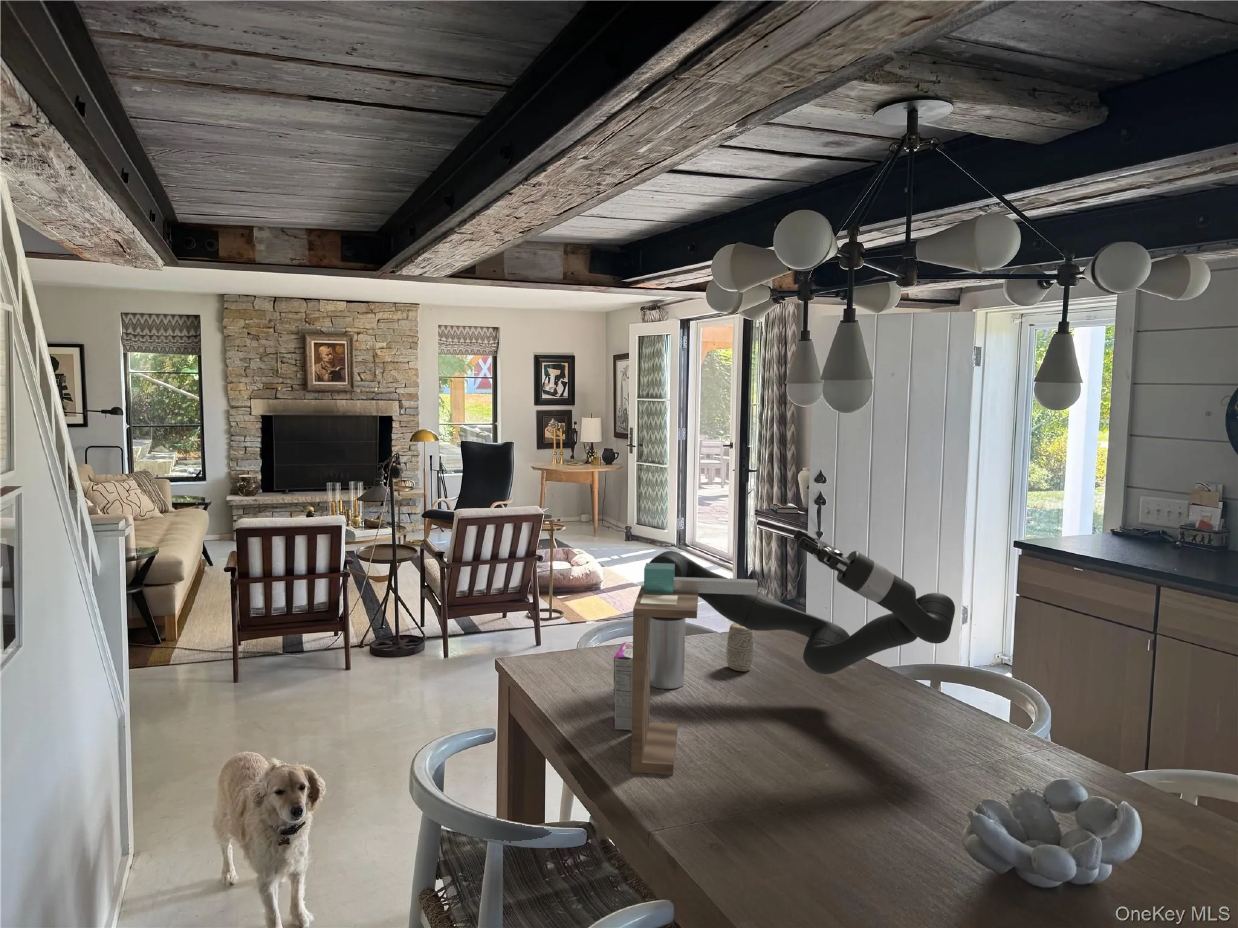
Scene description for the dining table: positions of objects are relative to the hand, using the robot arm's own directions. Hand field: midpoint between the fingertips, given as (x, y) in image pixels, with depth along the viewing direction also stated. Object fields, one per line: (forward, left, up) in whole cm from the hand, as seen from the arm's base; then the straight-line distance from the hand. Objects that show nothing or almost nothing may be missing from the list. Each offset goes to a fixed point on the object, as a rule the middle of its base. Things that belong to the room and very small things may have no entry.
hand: (797, 537), depth 173 cm
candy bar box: (-4, -35, -43) cm, 56 cm away
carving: (-44, -9, -43) cm, 62 cm away
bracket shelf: (+11, -26, -43) cm, 52 cm away
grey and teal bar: (+5, -20, -11) cm, 23 cm away
